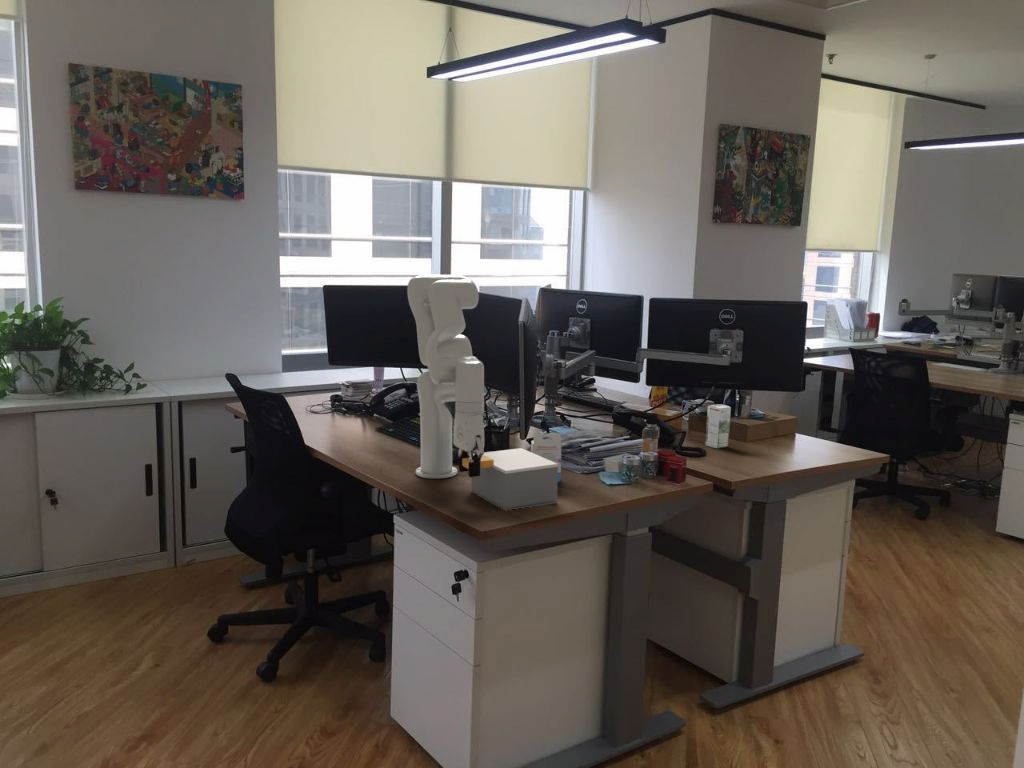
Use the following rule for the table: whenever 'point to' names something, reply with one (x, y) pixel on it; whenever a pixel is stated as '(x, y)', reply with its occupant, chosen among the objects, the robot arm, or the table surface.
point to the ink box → (548, 448)
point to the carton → (517, 487)
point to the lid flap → (512, 461)
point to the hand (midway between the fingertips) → (469, 473)
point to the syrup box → (718, 426)
